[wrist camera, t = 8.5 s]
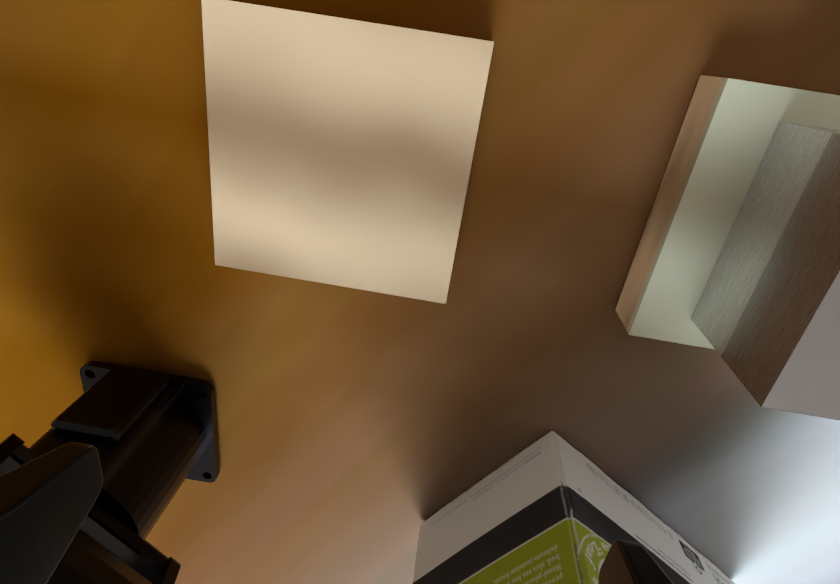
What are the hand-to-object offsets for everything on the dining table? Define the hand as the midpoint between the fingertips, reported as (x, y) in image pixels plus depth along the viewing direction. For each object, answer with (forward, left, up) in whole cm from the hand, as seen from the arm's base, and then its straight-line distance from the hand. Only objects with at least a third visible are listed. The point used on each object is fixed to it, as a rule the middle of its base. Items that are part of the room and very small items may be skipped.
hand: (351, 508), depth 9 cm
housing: (+3, -13, -11) cm, 17 cm away
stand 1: (+3, +3, -13) cm, 14 cm away
